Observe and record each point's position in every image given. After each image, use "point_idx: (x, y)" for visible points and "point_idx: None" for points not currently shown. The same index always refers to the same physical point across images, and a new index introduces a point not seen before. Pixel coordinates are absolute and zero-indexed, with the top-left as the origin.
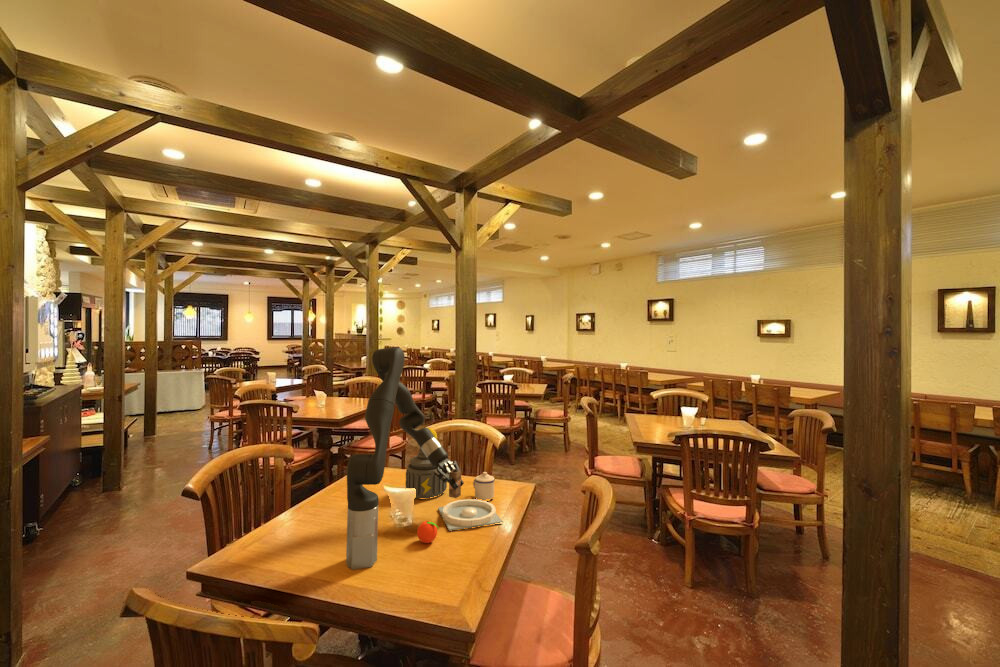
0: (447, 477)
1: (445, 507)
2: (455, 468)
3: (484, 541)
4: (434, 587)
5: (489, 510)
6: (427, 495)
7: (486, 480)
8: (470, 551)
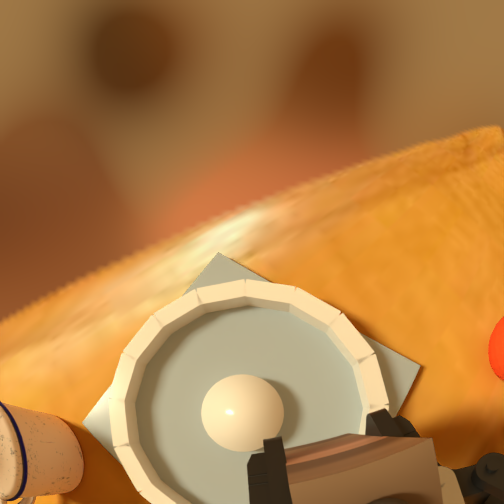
0: (501, 464)
1: None
2: None
3: (368, 227)
4: None
5: (152, 359)
6: None
7: (3, 423)
8: (433, 222)
